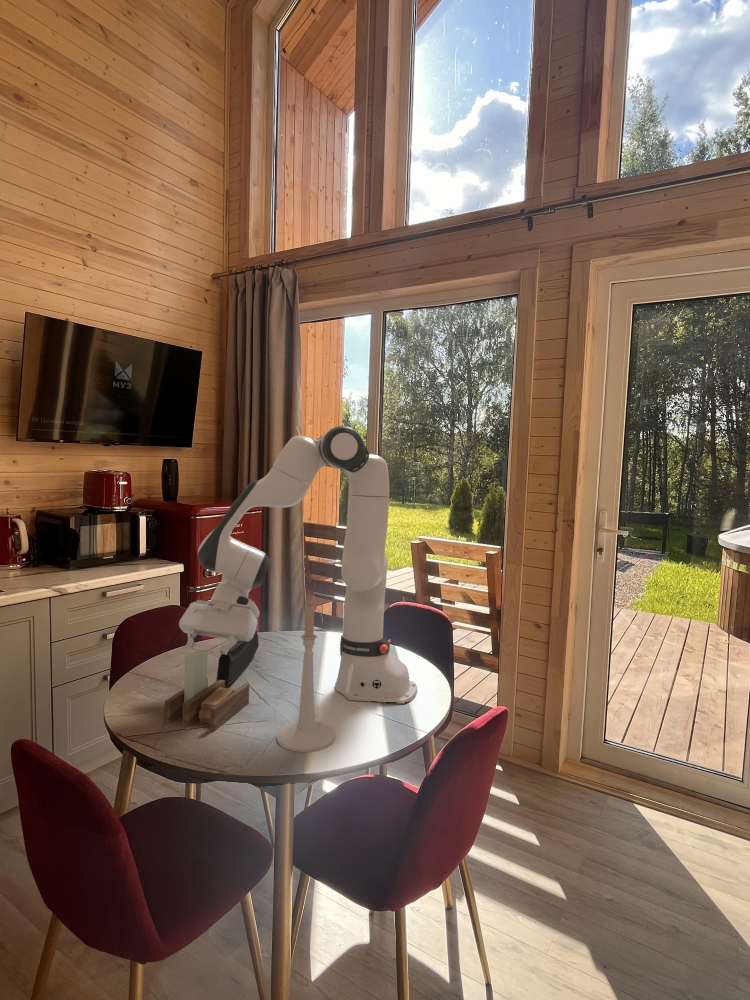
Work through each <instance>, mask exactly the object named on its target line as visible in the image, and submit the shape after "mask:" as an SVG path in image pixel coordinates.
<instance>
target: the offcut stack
mask: <svg viewBox="0 0 750 1000" xmlns="http://www.w3.org/2000/svg"><path fill="white" fill-rule="evenodd" d="M234 691H235V688H231V687H230V688H228V687H225V688H221V687H219V688H218V689H217V690H216V691H215V692H213V693H212V694H211V695H210V696H209V697H208V698H207V699H205V700H204V701H203V702H202V703H201V710H200V711H199V723H200V724H201V723H202V724H210V708H212V707H213V706H215V705H216V704H217V703H219V702H220V701H221V700H223V699H224V698H226V697H227V696H228V695H230V694H231V693H232V692H234Z"/></svg>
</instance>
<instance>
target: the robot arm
mask: <svg viewBox="0 0 750 1000" xmlns="http://www.w3.org/2000/svg"><path fill="white" fill-rule="evenodd" d="M323 467H327V468H328V467H329V468H333V469H336V470H337V469H339V470H344V471H345V472H346V475H347V477H348V478H347V479H348V493H347V494H348V497H347V514H346V515H347V516H346V528H345V532H344V533H345V534H344V541H343V543H344V544H343V551H342V558H341V559H342V560H341V569H340V573H341V578H342V581H343V583H344V584H345V586H346V587H345V596H344V603H343V609H342V610H343V611H342V613H343V614H342V615H343V616H342V634H341V636H340V641H339V652H340V654H339V656H340V664H339V668H338V669H339V670H338V674H337V678H336V681H335V683H334V688H335V690H336V691H337V692H338V693H340V694H341V695H343V696H344V697H345V699H346V700H349V701H357V702H358V701H359V702H371V701H377V702H376V703H386V702H397V703H396V704H406V703H405V702H407V703H409V702H411V701H412V700H413V699H414V698H415V697H416V696H417V694H416V693H418V685H417V684H416V682H414V681H411V680H410V673H409V669H408V667H407V665H406V664H405V663H404V662H403V661H401V660H400V659H399V658H398V657H396V656H395V655H394V654H393V653H392V652H391V651H390V645H391V638H390V639H387V638H385V636H384V635H383V634H384V616H385V615H384V611H385V610H384V609H385V602H386V601H385V600H386V589H387V586H386V585H387V576H388V573H387V571H388V559H387V555H386V553H385V551H386V543H387V534H388V533H387V531H388V526H389V524H388V523H389V508H390V506H389V505H390V504H389V503H390V476H389V475H390V474H389V469H388V468H389V467H388V464H387V461H386V459H384V458H383V457H382V456H380V455H377V454H374V453H370V451H369V450H368V448H367V446H366V444H365V441H364V439H363V437H362V435H361V434H360V433H359V432H358V431H357V430H356V429H354V428H353V427H350V426H348V425H338V426H334V427H331V428H330V429H328V430H327V431H325V433H324V434H323V435H321V436H320V437H318V438H317V439H313V438H311V437H308V436H306V435H305V436H304V435H294V436H292V437H290V439H289V440H288V441H287V443H286V444H285V445H284V447H283V449H282V450H281V451H280V453H279V454H278V456H277V457H276V459H275V461H274V462H273V465H272V467H271V468H270V470H269V472H268V473H267V474H266V475H265V476H263V477H262V478H261V479H257V480H253V481H251V482H250V483H249V484H247V486H246V487H245V488H244V490H243V491H242V492H241V493H240V494H239V496H238V497H237V498H236V499H235V500H234V502H233V503H232V504H231V505H230V506H229V508H228V510H227V511H226V513H224V515H223V517H222V518H221V519H220V521H219V522H218V524H217V525H216V526H215V528H214V529H213V530H212V531H211V532H210V533H208V535H206V536H205V538H204V539H203V540H202V541H201V543H200V544H199V547H198V549H197V555H196V556H197V560H198V562H199V564H200V566H201V567H202V569H206V570H209V571H210V572H211V571H212V572H214V573H219V575H220V574H221V575H222V577H221V581H220V583H218V584H217V586H216V588H215V590H214V592H213V594H212V596H211V598H210V599H209V600H201V599H197V600H196V601H193V602H191V603H190V604H189V606H188V607H187V608H186V610H185V612H184V613H183V615H182V616H181V618H180V619H179V621H178V626H179V628H180V630H181V631H182V632H183V633H185V634H187V643H186V644H185V648H186V649H187V650H194V649H195V647H196V645H197V643H196V642H195V641H194V638H196V637H197V635H198V636H204V637H211V638H219V639H227V640H228V641H227V642H226V643H225V644H221V645H220V648H219V650H218V651H219V653H220V654H221V655H222V654H225V655H227V653H228V651H229V649H230V648H231V647H233V646H234V645H235V644H236V642H237V641H238V640H239V641H246V642H248V641H250V640H251V639H252V638H253V636H254V634H255V631H256V630H257V627H258V618H259V617H260V611H259V608H258V606H257V605H256V603H255V601H253V599H251V598H249V593H250V592H251V591H252V590H253V589H256V588H258V587H261V586H262V584H263V583H264V581H265V578H266V574H267V572H268V571H269V568H270V567H271V562H270V559H269V556H268V554H267V553H266V552H264V551H262V550H260V549H258V548H257V547H254V546H251V545H249V544H246V543H244V542H243V541H240V540H238V539H236V538H234V537H232V536H231V532H232V531H233V530H234V528H235V527H236V526H237V524H238V523H239V522H240V521H241V519H242V518H243V516H244V515H245V514H246V512H248V511H249V510H250V509H253V508H257V507H267V508H276V509H277V508H281V509H282V508H290V507H293V506H296V505H297V504H299V503H300V502H302V500H303V498H304V497H305V496H306V494H307V493H308V490H309V489H310V487H311V485H312V482H313V481H314V478H315V477H316V475H317V473H318V472H319V471H320V470H321V469H322V468H323ZM415 695H416V696H415ZM414 696H415V697H414ZM410 700H411V701H410ZM408 701H409V702H408Z"/></svg>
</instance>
